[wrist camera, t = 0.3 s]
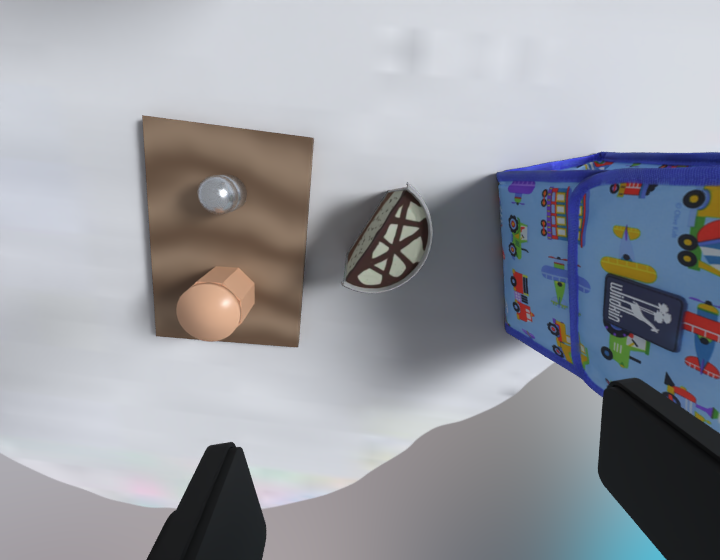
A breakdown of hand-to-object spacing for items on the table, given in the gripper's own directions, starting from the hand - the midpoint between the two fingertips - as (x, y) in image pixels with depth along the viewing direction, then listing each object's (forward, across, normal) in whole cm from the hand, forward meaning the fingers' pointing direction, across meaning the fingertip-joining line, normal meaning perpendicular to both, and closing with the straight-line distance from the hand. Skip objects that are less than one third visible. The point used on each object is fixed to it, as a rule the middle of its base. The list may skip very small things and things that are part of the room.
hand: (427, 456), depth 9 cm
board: (+36, +16, -1) cm, 39 cm away
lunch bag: (+36, -24, +6) cm, 44 cm away
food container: (+36, -4, +1) cm, 36 cm away
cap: (+34, +17, +4) cm, 39 cm away
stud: (+34, +14, -7) cm, 38 cm away
